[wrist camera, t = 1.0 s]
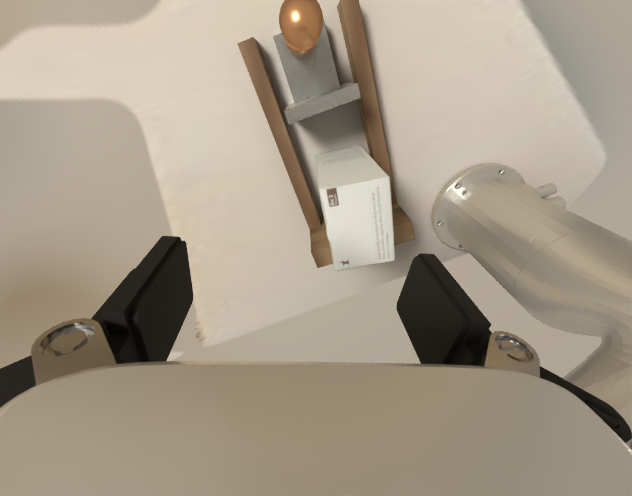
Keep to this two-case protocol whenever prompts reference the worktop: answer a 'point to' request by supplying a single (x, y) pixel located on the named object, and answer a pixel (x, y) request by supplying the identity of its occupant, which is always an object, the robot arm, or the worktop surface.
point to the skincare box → (355, 208)
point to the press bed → (370, 118)
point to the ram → (309, 61)
